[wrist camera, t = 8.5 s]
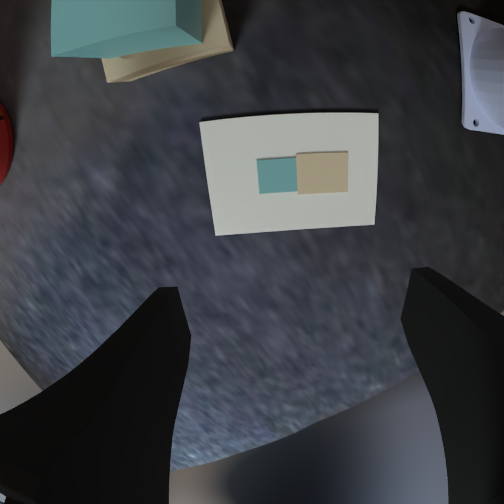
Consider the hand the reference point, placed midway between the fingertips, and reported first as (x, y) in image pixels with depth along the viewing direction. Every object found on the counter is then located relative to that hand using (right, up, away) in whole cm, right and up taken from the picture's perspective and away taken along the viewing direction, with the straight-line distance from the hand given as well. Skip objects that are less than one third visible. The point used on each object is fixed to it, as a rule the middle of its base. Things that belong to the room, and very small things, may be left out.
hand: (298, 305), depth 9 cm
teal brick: (-6, +13, +1) cm, 14 cm away
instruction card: (+1, +6, +9) cm, 10 cm away
